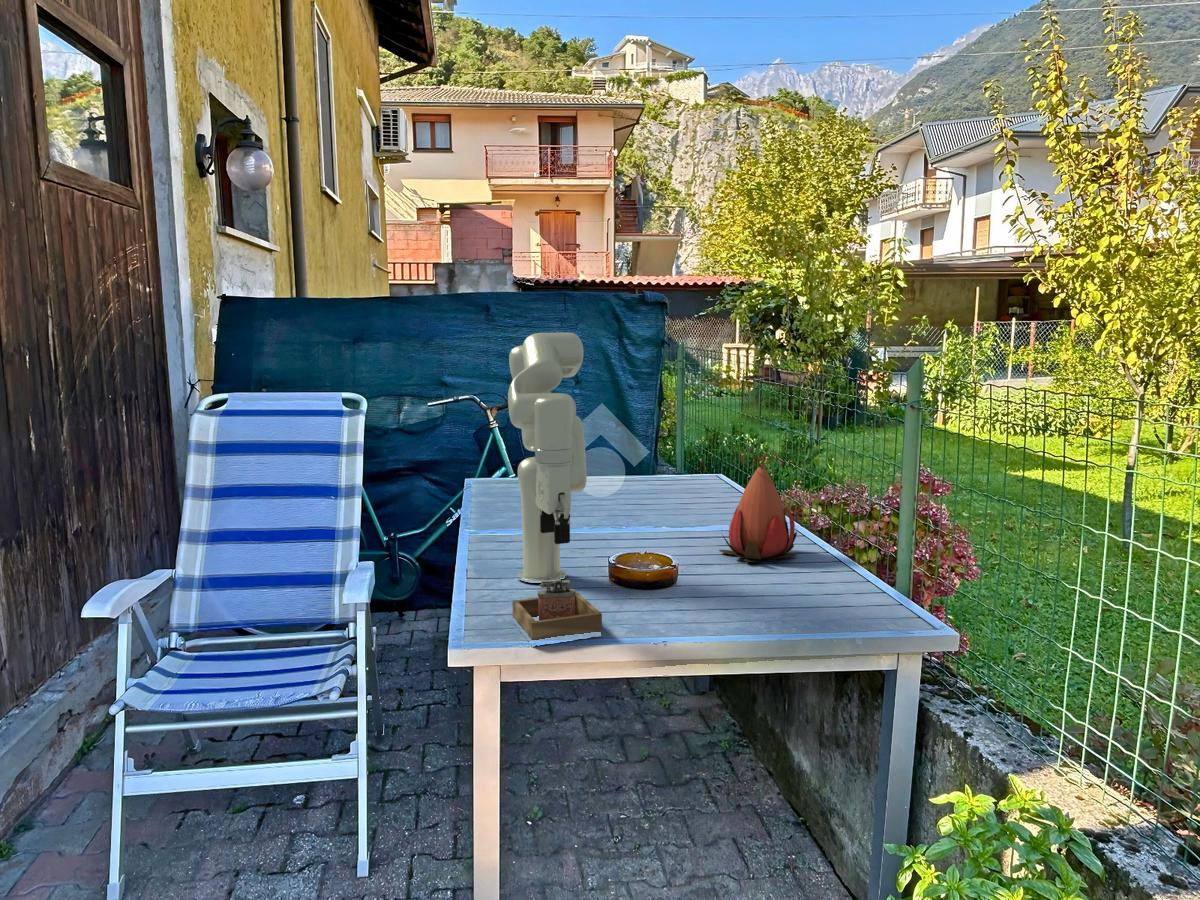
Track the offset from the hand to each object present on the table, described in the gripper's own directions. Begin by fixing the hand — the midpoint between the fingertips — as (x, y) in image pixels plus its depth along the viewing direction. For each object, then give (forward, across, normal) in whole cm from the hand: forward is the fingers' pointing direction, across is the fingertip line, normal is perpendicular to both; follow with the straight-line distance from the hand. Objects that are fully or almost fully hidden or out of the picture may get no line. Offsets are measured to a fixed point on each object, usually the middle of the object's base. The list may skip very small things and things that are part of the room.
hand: (554, 537), depth 167 cm
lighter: (+19, 0, 0) cm, 19 cm away
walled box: (+20, 0, 0) cm, 20 cm away
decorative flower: (+21, -33, +70) cm, 80 cm away
